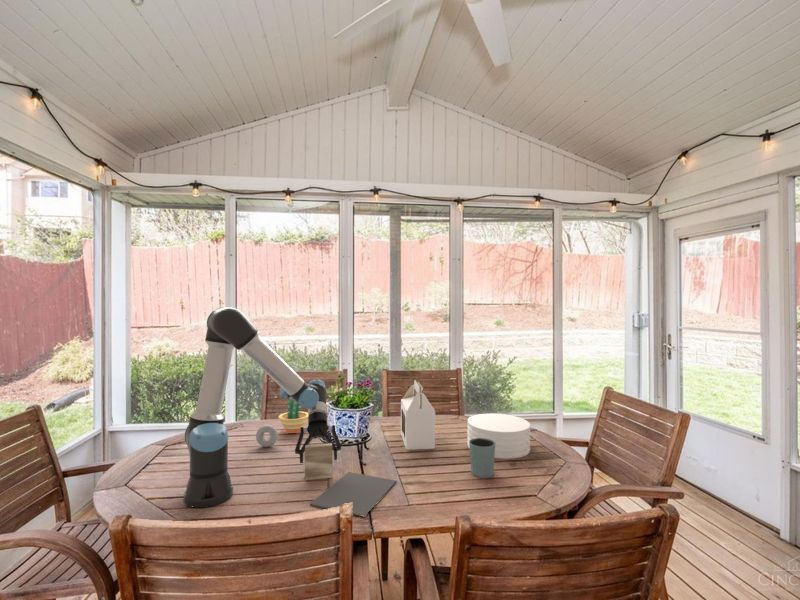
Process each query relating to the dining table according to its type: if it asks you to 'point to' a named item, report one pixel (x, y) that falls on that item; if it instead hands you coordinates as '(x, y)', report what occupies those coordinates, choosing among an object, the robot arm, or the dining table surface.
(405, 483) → the dining table surface
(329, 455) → the birch tile
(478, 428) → the plate stack
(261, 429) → the donut
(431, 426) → the gable box
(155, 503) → the dining table surface
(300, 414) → the potted cactus
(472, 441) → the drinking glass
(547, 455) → the dining table surface
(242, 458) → the dining table surface
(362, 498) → the rubber mat
